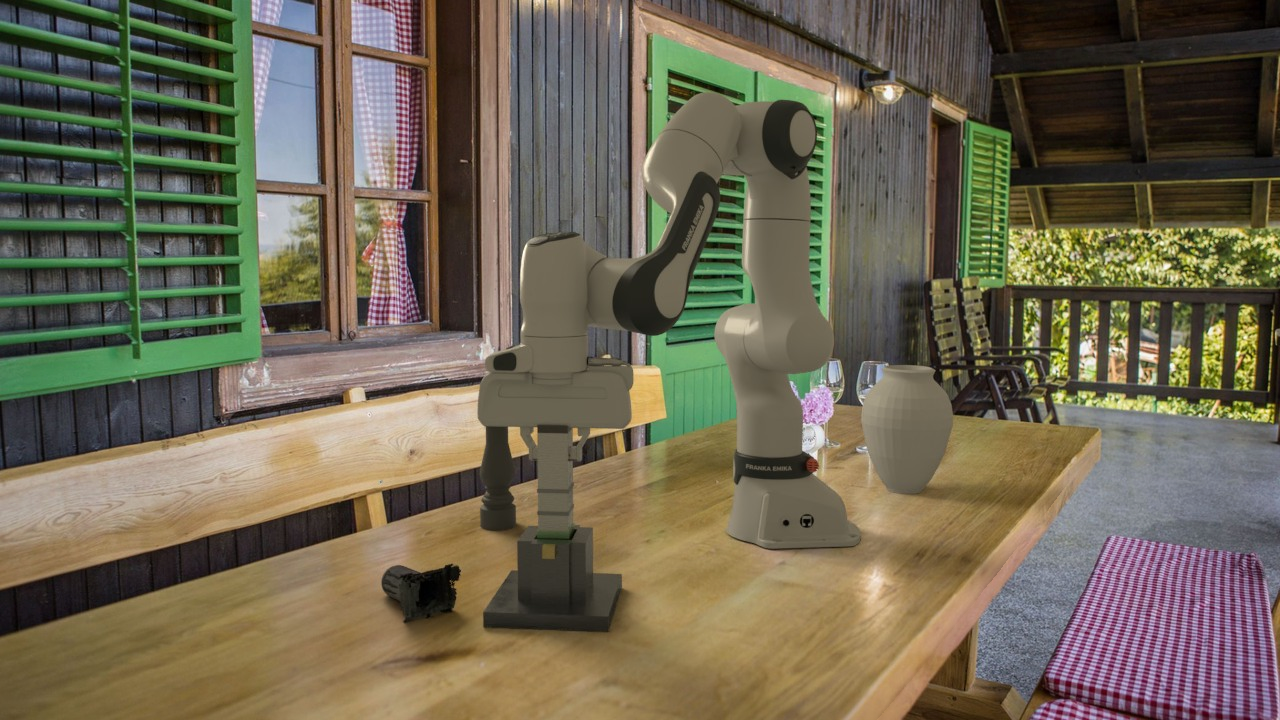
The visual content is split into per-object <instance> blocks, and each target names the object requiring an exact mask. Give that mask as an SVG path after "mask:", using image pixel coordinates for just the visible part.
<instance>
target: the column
mask: <svg viewBox="0 0 1280 720" xmlns="http://www.w3.org/2000/svg"><path fill="white" fill-rule="evenodd" d="M536 428H537V429H536V430H537V431H536V432H537V434H536V435H537V444H536V445H537V446H538V461H537V489H536V493H537V512H536V515H537V520H538V522H537V526H538V530H537V539H547V540H572V538H573V533H574V532H575V530H574V525H575V522H574V508H575V504H574V487H575V485H574V484H575V482H574V461H570V460H569V457H570V454H569V449H570V448H571V446H574V440H573V439H574V438H573V436H574V435H573V433H574V432H573V431H574V430H573V429H574V428H568V426H567V425H537V427H536Z"/></svg>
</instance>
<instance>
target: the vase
mask: <svg viewBox="0 0 1280 720" xmlns="http://www.w3.org/2000/svg"><path fill="white" fill-rule="evenodd" d="M880 370H881V371H882V373H883V374H882V375H883V376H882V378H881V379H880V380H878V381H877V382H876V383H875V384H874V385H873V386H871V388H869V390H868V391H867V394H866V396H865V397H864V399H863V402H862V403H863V404H862V407H861V414H860V415H861V417H860V418H861V419H860V421H861V426H862V431H863V437H864V441H865V445H866V449H867V453H868V456H869V459H870V460H871V463H872V465H873V467H874V470H875V472H876V474H877V476H878V477H879V480H880V481H881V482H882V484H883V485H884V486H885V489H886V491H888V492H891V493H896V494H901V495H902V494H903V495H915V494H917V495H918V494H921V493H922V492H923V490H924V488H926V487H927V485H928V484H929V483H930V482H931V480H932V479H933V477H934V475H935V474H936V472H937V470H938V469H939V467H940V464H941V462H942V461H943V459H944V457H945V453H946V450H947V447H948V445H949V444H948V443H949V441H950V436H951V433H952V428H953V427H954V425H953V424H954V412H953V406H952V402H951V400H950V397H949V395H948V393H947V392H946V391H945V390H944V388H943V387H941V386H940V384H939V383H938V382H937V381H936V380H935V379H934V375H935V372H936V371H937V370H936V369H934V368H933V367H930V366H926V365H925V366H924V365H915V364H913V365H910V364H893V365H892V364H891V365H885V366H883V367H880Z"/></svg>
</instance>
